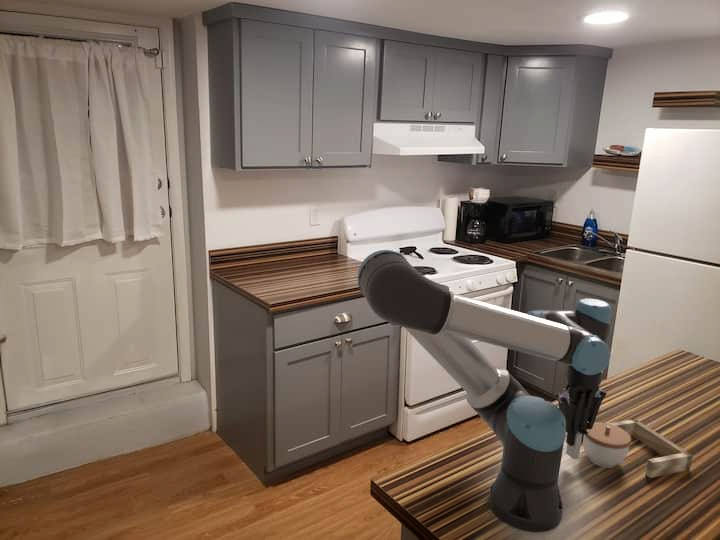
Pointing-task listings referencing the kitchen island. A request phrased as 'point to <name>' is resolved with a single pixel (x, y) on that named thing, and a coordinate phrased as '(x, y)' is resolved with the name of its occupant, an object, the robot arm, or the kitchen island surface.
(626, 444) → the lidded jar
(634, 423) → the birch dock
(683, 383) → the kitchen island surface
